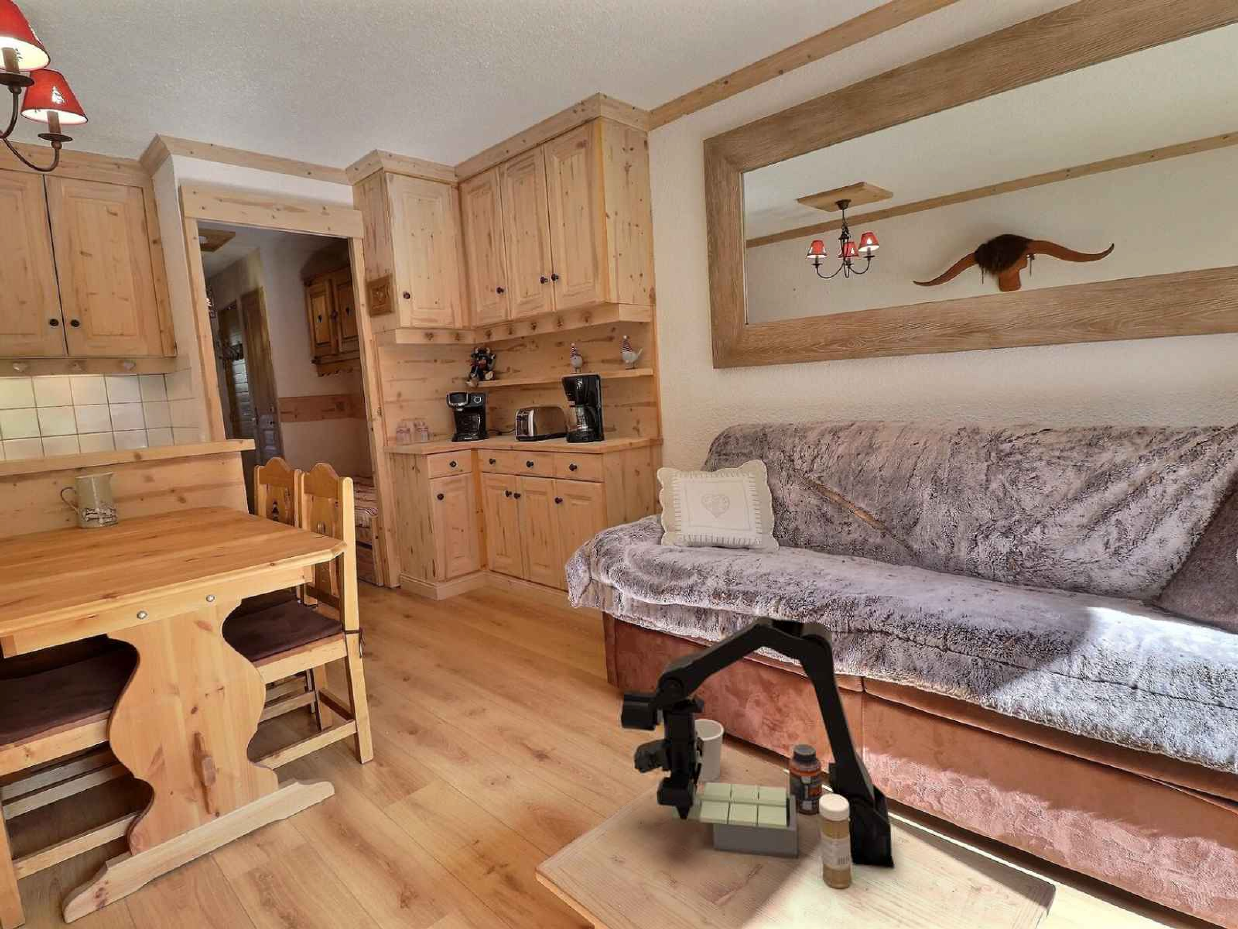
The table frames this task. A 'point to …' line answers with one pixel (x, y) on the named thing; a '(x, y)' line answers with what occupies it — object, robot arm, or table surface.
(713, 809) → the lid
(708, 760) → the dixie cup
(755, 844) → the tub
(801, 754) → the supplement bottle
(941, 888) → the table surface
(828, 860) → the sprinkles bottle
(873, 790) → the robot arm
